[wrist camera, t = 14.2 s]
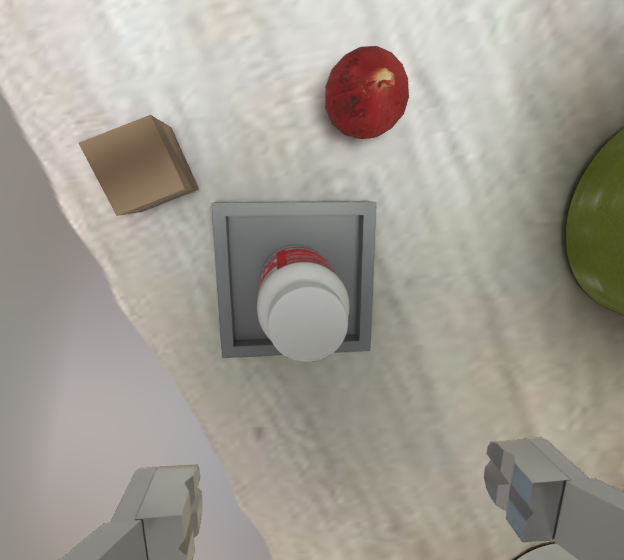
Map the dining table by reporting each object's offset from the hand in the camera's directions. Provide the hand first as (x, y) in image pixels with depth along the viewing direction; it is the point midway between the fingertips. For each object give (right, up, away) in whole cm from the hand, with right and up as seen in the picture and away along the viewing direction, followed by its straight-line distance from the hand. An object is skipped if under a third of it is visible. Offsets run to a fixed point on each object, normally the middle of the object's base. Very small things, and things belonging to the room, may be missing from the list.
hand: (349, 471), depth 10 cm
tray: (-3, +6, +22) cm, 23 cm away
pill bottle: (-2, +5, +21) cm, 22 cm away
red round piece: (+2, +19, +19) cm, 28 cm away
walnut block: (-14, +14, +19) cm, 27 cm away
